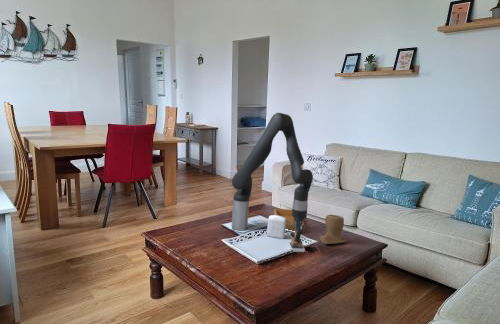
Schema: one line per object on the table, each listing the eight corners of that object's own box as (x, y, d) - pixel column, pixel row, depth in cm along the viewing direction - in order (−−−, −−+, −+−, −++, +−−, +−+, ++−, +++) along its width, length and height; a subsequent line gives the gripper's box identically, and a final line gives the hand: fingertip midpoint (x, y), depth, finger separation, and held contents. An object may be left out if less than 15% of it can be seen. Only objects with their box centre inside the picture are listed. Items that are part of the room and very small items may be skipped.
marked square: (305, 252, 176) (305, 251, 176) (301, 245, 184) (301, 245, 184) (320, 252, 177) (320, 252, 177) (316, 246, 185) (316, 245, 185)
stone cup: (335, 236, 202) (338, 211, 199) (349, 244, 191) (352, 218, 189) (314, 238, 196) (316, 213, 193) (326, 247, 185) (329, 220, 182)
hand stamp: (292, 247, 177) (294, 233, 176) (290, 243, 182) (292, 229, 181) (302, 247, 178) (303, 233, 176) (300, 243, 183) (301, 230, 181)
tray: (273, 216, 233) (274, 207, 232) (295, 217, 233) (296, 209, 232) (278, 232, 202) (278, 223, 201) (303, 234, 203) (304, 224, 202)
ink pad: (290, 251, 176) (291, 248, 176) (288, 245, 184) (288, 242, 183) (304, 252, 176) (304, 248, 176) (301, 245, 184) (301, 242, 184)
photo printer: (285, 237, 195) (287, 216, 193) (283, 239, 191) (285, 218, 189) (267, 233, 198) (269, 213, 196) (265, 236, 194) (267, 215, 192)
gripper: (290, 203, 183) (287, 234, 186) (295, 211, 169) (292, 245, 172) (304, 204, 184) (301, 235, 187) (310, 212, 170) (307, 245, 173)
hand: (297, 239), depth 179 cm, fingers closed on hand stamp, 3 cm apart
